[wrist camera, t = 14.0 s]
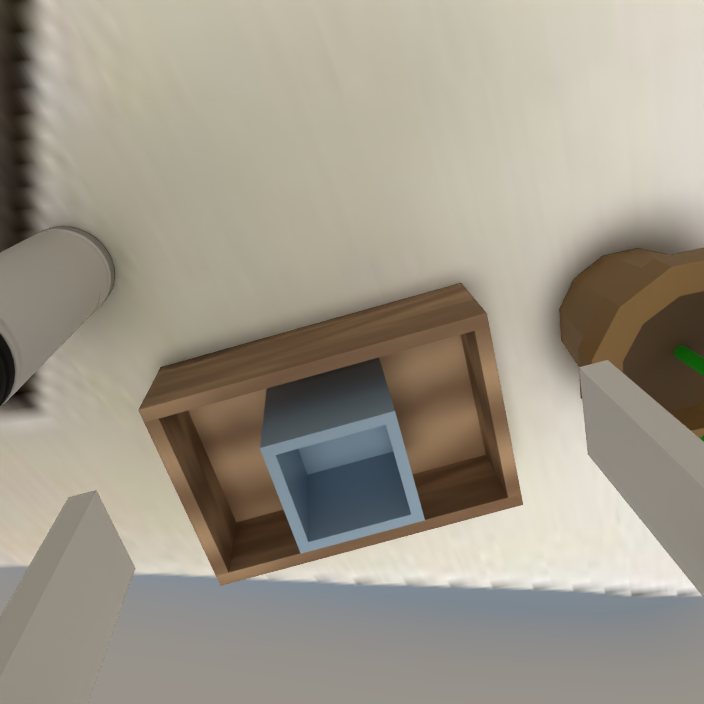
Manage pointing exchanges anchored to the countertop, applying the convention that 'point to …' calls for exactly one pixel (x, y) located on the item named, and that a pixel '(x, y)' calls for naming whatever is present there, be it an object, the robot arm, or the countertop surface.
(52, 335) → the travel mug
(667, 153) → the countertop surface
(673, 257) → the flowerpot
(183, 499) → the walnut crate
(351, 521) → the slate crate
